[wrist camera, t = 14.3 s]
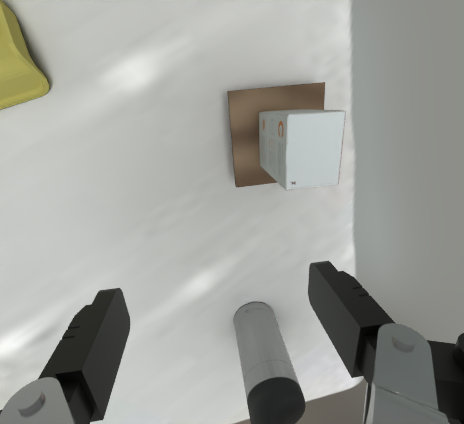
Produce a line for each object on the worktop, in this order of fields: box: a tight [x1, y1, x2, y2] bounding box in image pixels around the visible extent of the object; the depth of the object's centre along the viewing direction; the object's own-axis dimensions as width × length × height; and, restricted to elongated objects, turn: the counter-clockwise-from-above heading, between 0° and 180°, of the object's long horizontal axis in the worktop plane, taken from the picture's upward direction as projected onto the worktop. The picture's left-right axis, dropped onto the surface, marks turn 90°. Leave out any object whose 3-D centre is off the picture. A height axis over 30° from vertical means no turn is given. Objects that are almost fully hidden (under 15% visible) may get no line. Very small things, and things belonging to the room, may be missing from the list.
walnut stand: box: [228, 82, 325, 187], centre depth 42 cm, size 14×14×5 cm
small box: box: [259, 109, 346, 190], centre depth 33 cm, size 8×6×13 cm
